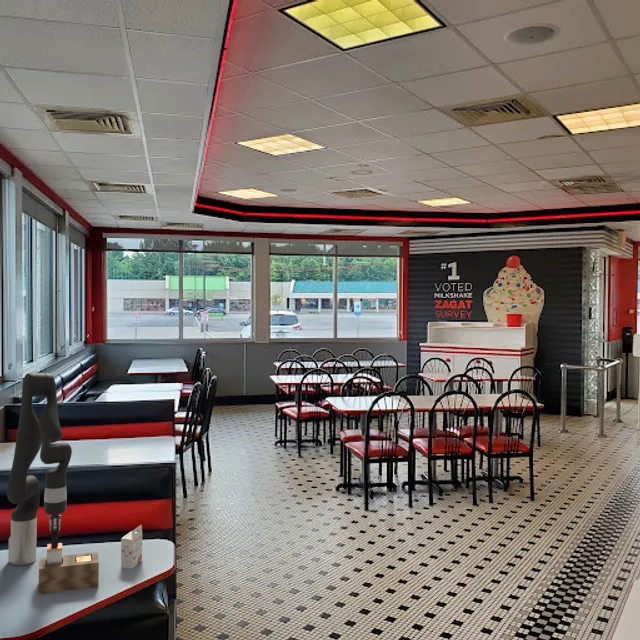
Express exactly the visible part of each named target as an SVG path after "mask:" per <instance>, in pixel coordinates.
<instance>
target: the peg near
mask: <svg viewBox="0 0 640 640" xmlns="http://www.w3.org/2000/svg"><path fill="white" fill-rule="evenodd" d="M46 545H47V546H46V557H47V566H50V565H59V564H62V556H63V543H62V542H58V546H57V547H52V543H47V544H46Z"/></svg>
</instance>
